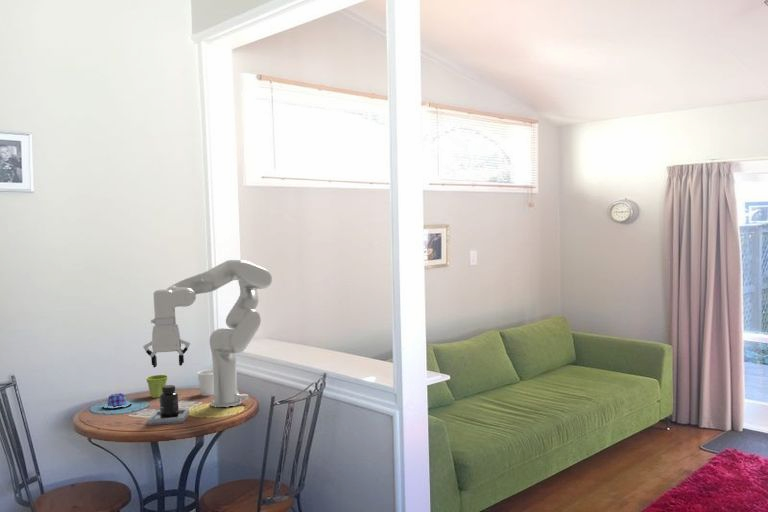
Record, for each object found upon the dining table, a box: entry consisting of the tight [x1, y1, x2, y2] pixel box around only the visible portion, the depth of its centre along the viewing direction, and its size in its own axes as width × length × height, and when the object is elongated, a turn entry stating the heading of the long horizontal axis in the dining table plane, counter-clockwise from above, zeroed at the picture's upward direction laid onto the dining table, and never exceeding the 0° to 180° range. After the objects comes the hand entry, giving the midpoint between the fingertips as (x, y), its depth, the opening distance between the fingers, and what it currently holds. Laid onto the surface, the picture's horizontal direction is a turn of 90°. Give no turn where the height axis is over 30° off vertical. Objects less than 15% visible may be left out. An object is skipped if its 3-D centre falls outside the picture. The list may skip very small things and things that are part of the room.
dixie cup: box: [197, 369, 214, 397], centre depth 297 cm, size 8×8×10 cm
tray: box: [147, 408, 190, 426], centre depth 258 cm, size 13×13×2 cm
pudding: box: [107, 392, 128, 407], centre depth 280 cm, size 12×12×5 cm
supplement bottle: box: [159, 384, 179, 418], centre depth 258 cm, size 7×7×12 cm
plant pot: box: [145, 374, 169, 399], centre depth 296 cm, size 9×9×9 cm
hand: (168, 365), depth 257 cm, fingers open, 9 cm apart
